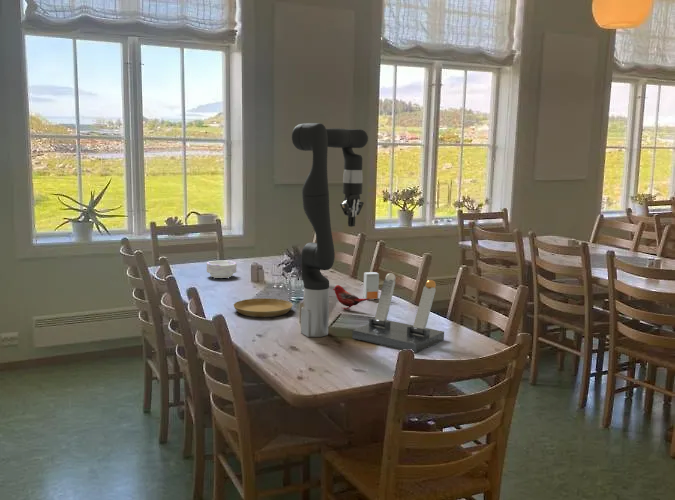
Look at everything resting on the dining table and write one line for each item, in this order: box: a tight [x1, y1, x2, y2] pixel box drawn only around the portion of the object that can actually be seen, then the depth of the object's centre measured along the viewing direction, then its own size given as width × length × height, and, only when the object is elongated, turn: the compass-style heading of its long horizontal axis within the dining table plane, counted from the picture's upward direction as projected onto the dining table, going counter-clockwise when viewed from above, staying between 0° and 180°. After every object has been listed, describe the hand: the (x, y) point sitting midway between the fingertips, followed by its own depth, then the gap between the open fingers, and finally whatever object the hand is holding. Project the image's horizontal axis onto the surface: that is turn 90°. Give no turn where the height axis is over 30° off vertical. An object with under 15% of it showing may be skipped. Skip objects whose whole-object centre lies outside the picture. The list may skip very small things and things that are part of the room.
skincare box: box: [362, 271, 380, 301], centre depth 291 cm, size 6×4×12 cm
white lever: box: [372, 272, 396, 327], centre depth 236 cm, size 4×5×20 cm
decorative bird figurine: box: [332, 284, 370, 311], centre depth 269 cm, size 3×18×10 cm, turn 59°
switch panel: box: [351, 317, 445, 354], centre depth 230 cm, size 20×26×6 cm
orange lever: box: [410, 279, 437, 336], centre depth 227 cm, size 4×5×20 cm
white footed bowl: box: [206, 260, 237, 279], centre depth 332 cm, size 15×15×8 cm
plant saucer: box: [233, 297, 293, 318], centre depth 265 cm, size 24×24×3 cm
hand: (351, 226), depth 251 cm, fingers closed
